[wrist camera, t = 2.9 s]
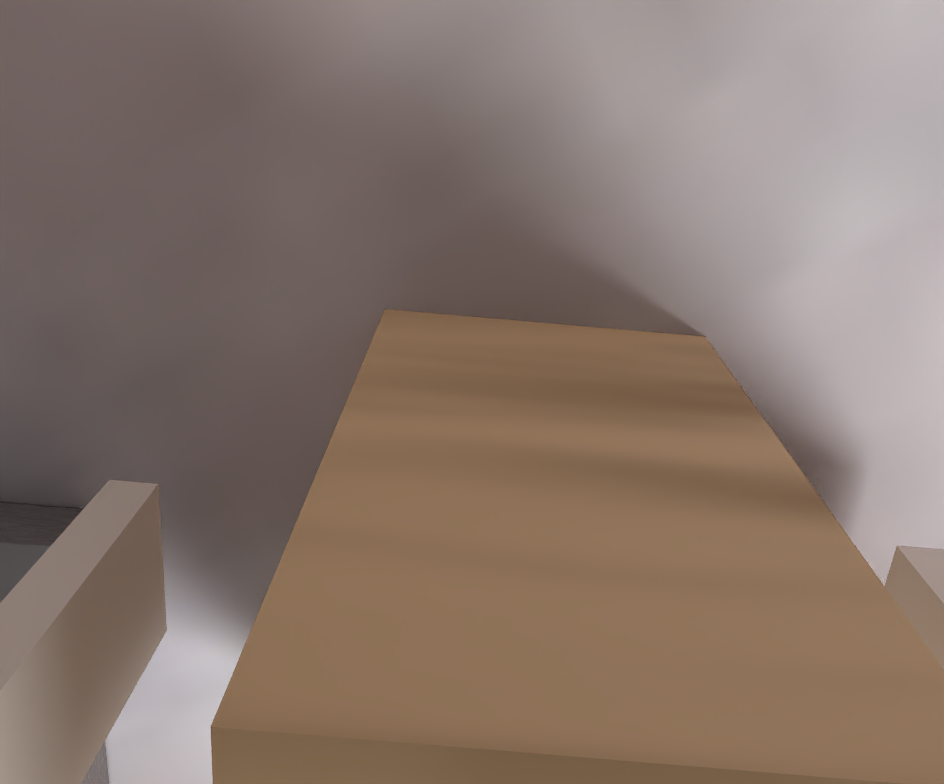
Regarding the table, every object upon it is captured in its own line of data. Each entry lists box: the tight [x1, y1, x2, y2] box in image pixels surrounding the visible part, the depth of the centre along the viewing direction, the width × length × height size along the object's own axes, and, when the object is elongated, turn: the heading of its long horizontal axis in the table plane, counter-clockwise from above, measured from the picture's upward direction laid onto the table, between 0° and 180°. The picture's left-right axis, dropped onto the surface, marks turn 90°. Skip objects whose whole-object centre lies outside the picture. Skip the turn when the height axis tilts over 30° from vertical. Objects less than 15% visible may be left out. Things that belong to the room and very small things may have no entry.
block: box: [211, 309, 944, 784], centre depth 11 cm, size 8×5×9 cm, turn 175°
